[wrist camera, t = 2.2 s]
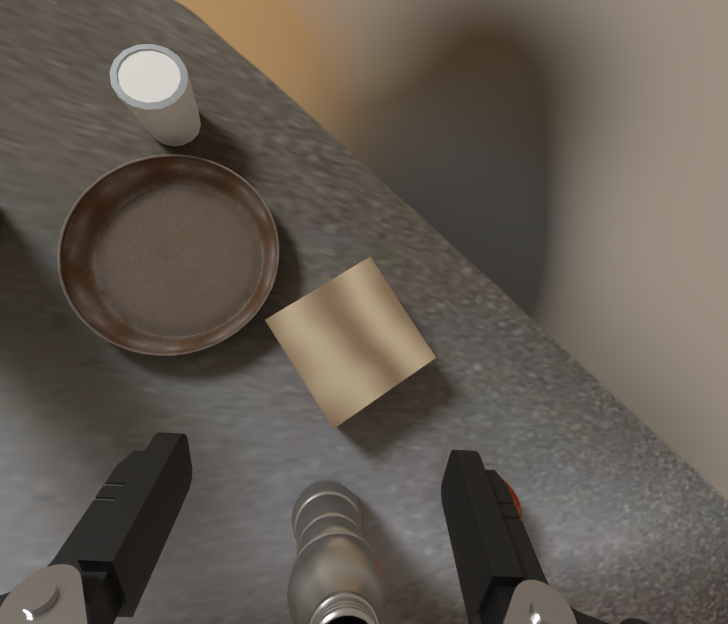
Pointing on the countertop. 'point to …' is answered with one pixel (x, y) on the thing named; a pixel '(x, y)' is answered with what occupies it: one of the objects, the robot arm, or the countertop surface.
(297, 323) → the block
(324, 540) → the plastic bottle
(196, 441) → the countertop surface
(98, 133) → the countertop surface
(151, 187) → the plant saucer
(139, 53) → the white cup
